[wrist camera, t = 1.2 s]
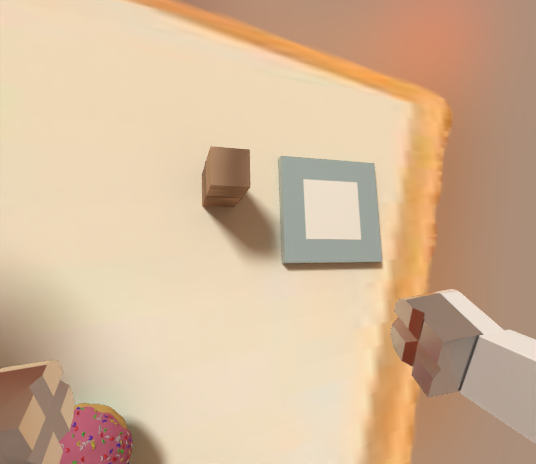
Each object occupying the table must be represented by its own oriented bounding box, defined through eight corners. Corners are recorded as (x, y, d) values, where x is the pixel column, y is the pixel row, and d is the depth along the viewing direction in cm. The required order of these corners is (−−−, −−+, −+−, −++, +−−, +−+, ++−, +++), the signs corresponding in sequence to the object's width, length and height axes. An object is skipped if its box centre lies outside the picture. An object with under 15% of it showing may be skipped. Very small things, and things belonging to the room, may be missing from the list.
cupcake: (145, 396, 37) (135, 444, 26) (123, 483, 36) (102, 575, 24) (59, 386, 35) (8, 433, 24) (31, 478, 34) (-38, 575, 22)
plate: (281, 263, 44) (285, 262, 43) (278, 159, 46) (281, 155, 45) (377, 262, 48) (382, 261, 47) (369, 166, 50) (374, 163, 49)
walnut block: (201, 206, 42) (210, 185, 34) (201, 174, 43) (210, 145, 34) (234, 207, 44) (250, 187, 35) (233, 176, 44) (249, 149, 36)
